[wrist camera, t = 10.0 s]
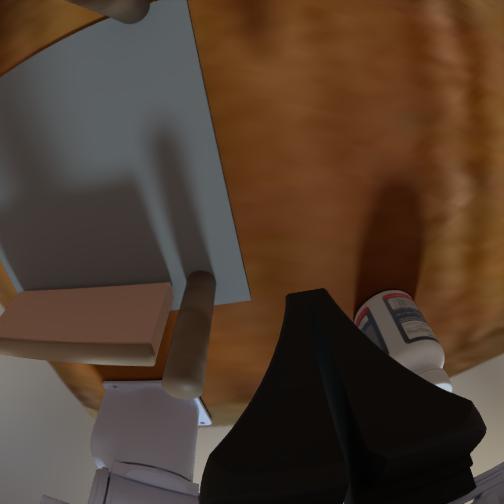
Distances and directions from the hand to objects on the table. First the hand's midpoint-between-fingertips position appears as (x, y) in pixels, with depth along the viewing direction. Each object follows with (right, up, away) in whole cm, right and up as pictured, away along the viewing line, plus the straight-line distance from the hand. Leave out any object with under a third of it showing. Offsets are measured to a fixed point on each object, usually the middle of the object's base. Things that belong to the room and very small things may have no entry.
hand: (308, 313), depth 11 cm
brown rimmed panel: (-14, -1, +10) cm, 18 cm away
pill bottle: (+9, -3, +13) cm, 16 cm away
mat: (-14, +6, +7) cm, 17 cm away
